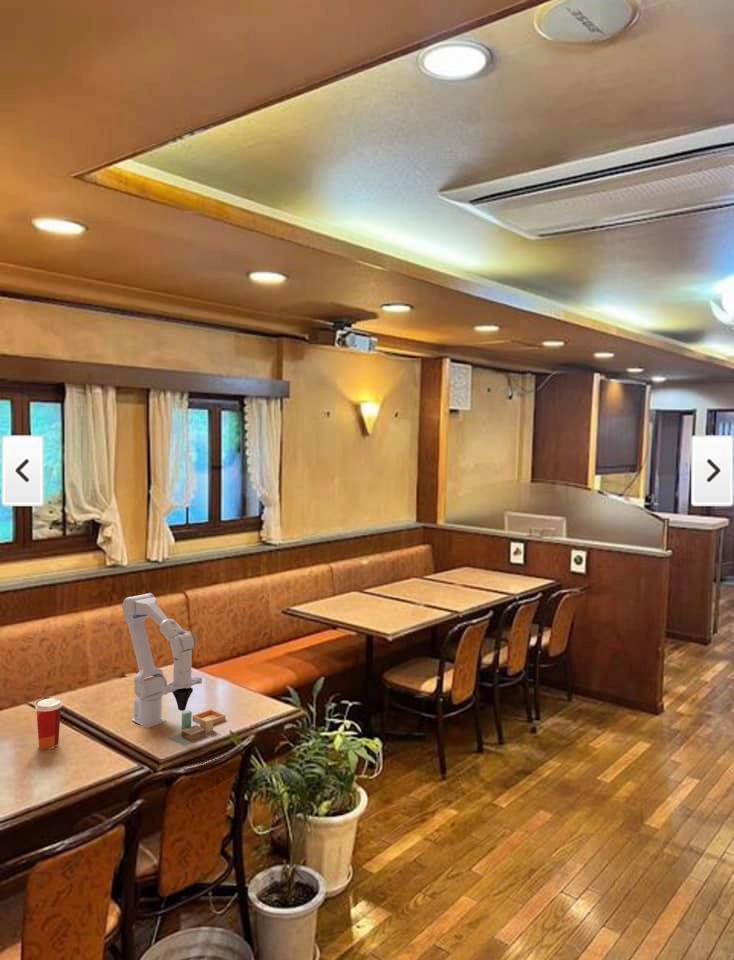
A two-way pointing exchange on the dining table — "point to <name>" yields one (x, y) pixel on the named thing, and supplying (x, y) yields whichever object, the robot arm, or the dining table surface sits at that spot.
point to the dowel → (186, 719)
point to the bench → (204, 723)
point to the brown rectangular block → (193, 732)
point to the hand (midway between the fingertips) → (181, 709)
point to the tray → (210, 713)
